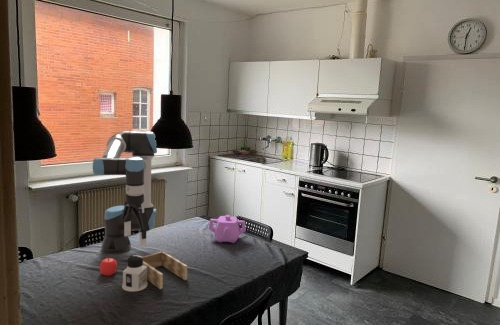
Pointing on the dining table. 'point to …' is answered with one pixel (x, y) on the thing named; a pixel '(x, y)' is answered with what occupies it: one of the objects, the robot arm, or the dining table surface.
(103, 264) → the apple
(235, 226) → the teapot
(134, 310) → the dining table surface
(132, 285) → the container
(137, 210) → the robot arm
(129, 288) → the trivet
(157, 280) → the tan open-ended frame
